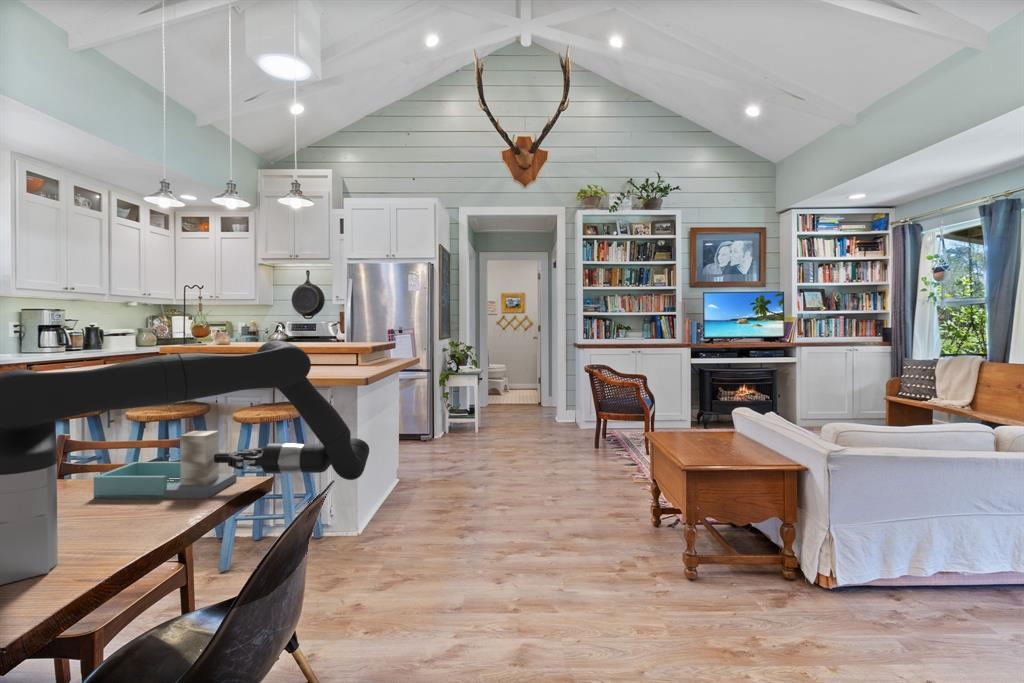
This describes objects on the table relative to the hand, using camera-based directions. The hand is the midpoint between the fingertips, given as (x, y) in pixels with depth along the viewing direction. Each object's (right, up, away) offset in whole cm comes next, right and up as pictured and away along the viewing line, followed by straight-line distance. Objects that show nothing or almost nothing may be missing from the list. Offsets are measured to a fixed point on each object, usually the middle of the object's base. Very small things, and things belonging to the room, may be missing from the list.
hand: (215, 457), depth 129 cm
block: (-4, -6, 0) cm, 7 cm away
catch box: (-16, -8, 0) cm, 18 cm away
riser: (-3, -8, 0) cm, 9 cm away
